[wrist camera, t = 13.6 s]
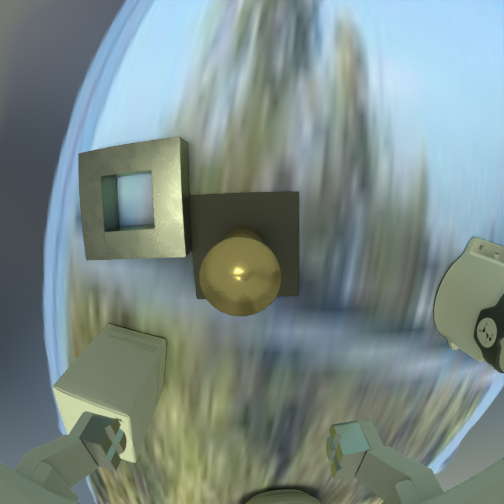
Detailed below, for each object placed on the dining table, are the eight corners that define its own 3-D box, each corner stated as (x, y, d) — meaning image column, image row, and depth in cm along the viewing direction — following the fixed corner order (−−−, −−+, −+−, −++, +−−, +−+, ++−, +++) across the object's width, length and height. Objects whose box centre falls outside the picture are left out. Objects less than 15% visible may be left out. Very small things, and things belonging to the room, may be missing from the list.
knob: (268, 220, 31) (281, 236, 20) (269, 272, 32) (281, 314, 21) (214, 221, 31) (196, 239, 20) (216, 274, 32) (202, 316, 21)
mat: (297, 191, 31) (298, 191, 30) (297, 294, 33) (298, 295, 33) (189, 195, 31) (188, 195, 30) (197, 297, 33) (196, 299, 33)
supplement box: (106, 321, 34) (49, 384, 19) (168, 337, 34) (130, 417, 20) (109, 371, 36) (66, 438, 21) (164, 387, 36) (136, 465, 22)
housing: (187, 143, 29) (179, 136, 25) (192, 248, 32) (185, 256, 28) (95, 156, 29) (78, 153, 25) (102, 252, 32) (86, 260, 28)
